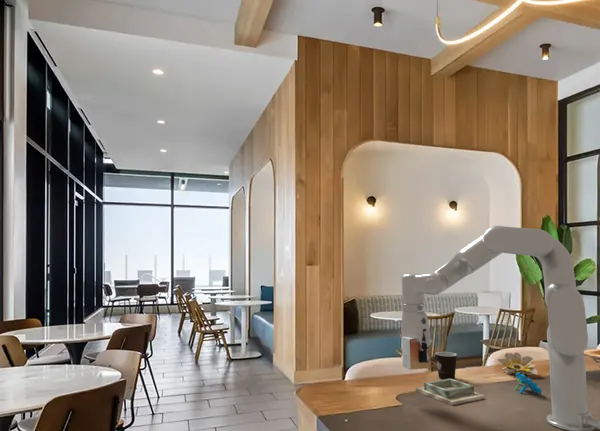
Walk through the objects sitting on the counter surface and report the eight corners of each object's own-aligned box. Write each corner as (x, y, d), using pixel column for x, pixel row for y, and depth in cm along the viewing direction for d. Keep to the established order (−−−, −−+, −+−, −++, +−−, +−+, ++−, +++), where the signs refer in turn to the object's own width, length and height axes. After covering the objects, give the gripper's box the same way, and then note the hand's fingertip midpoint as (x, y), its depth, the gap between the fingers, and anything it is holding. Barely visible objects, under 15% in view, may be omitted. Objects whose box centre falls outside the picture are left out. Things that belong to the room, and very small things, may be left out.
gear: (548, 392, 157) (526, 372, 159) (538, 405, 156) (517, 384, 158) (531, 388, 168) (511, 369, 169) (522, 399, 167) (502, 380, 168)
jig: (484, 398, 156) (483, 387, 156) (451, 405, 149) (451, 394, 149) (446, 385, 172) (446, 376, 172) (415, 391, 165) (415, 381, 165)
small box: (410, 370, 149) (409, 339, 150) (402, 366, 154) (401, 336, 155) (430, 368, 151) (429, 337, 152) (422, 364, 156) (420, 335, 157)
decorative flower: (499, 372, 184) (499, 348, 187) (495, 372, 195) (496, 349, 198) (538, 378, 180) (537, 353, 183) (533, 378, 190) (532, 354, 193)
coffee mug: (459, 381, 177) (458, 356, 178) (437, 380, 179) (437, 355, 180) (454, 374, 189) (453, 350, 190) (433, 373, 190) (432, 350, 191)
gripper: (439, 309, 149) (442, 363, 147) (405, 305, 164) (407, 354, 162) (422, 311, 145) (425, 366, 143) (389, 307, 161) (392, 356, 159)
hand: (416, 359), depth 153 cm, fingers closed on small box, 6 cm apart
